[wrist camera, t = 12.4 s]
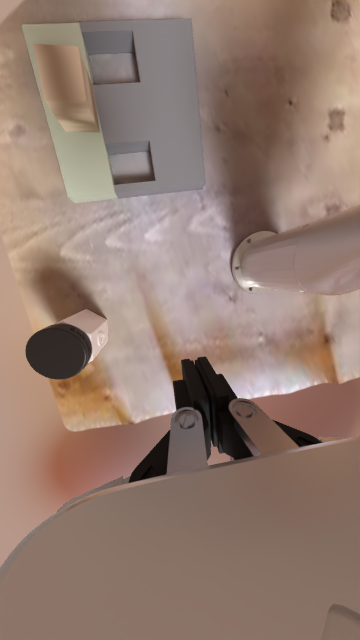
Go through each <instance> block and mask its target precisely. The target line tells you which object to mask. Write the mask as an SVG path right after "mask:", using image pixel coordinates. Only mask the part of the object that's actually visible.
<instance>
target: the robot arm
mask: <svg viewBox="0 0 360 640" xmlns="http://www.w3.org/2000/svg"><path fill="white" fill-rule="evenodd" d="M247 241H248V243H247ZM235 267H236V269H235ZM232 273H233V277H234V279H235V281H236V283H237V284H238V286H239V287H240V288H241V289H243V290H244V291H246V292H249V293H252V294H265V293H268V292H270V291H272V290H274V289H278V290H286V291H294V292H302V293H311V294H320V295H342V294H346V293H350V292H353V291H355V290H358V289H360V205H358V206H355V207H353V208H350V209H347V210H344V211H342V212H339V213H336V214H333V215H330V216H327V217H325V218H322V219H319V220H316V221H313V222H310V223H307V224H304V225H301V226H299V227H296V228H293V229H290V230H287V231H284V232H281V233H278V234H276V233H274V232H270V231H260V232H256V233H254V234H251V235H250V236H248V237H246V238H245V239H244V240H243V241H242V242H241V243H240V244H239V246H238V247H237V249H236V251H235V253H234V256H233V259H232ZM249 288H250V289H249ZM181 363H182V374H183V380H177V381H173V387H174V396H175V404H176V412H175V413H174V414H173V416H172V419H171V429H170V430H169V431H168V432H167V434H166V435H165V436H164V437H163V438H162V439H161V440H160V441H159V443H158V444H157V445H156V446H155V447H154V448H153V449H152V450H151V451H150V453H149V454H148V455H147V456H146V457H145V458H144V459H143V460H142V462H141V463H140V464H139V465H138V466H137V467H136V468H135V470H134V471H133V472H132V474H131V476H130V477H128V478H125V479H123V477H120V478H118V479H115V480H113V481H111V482H109V483H107V484H104V485H102V486H100V487H98V488H95V489H93V490H91V491H89V492H87V493H84V494H82V495H80V496H78V497H75V498H73V499H72V500H70V501H68V502H67V503H65V504H64V505H63V506H62V507H61V508H60V509H59V510H58V511H57V513H55V514H54V515H52V516H51V517H49V518H48V519H47V520H45V521H44V522H42V523H41V524H40V525H39V526H37V527H36V528H35V529H34V530H32V531H31V532H30V533H29V534H28V535H27V536H26V537H25V538H24V539H23V540H22V541H21V542H20V543H19V544H18V545H17V547H16V548H15V549H14V550H13V551H12V553H11V554H10V555H9V556H8V558H7V559H6V560H5V562H4V563H3V564H2V566H1V567H0V640H360V436H359V437H352V438H333V437H331V438H330V437H319V440H318V439H316V438H315V437H313V436H311V435H309V434H307V433H304V432H302V431H299V430H297V429H294V428H292V427H289V426H287V425H284V424H282V423H279V422H277V421H274V420H272V419H271V418H270V417H269V416H268V415H267V414H266V413H265V412H264V411H263V410H262V409H260V407H259V406H258V405H257V404H255V403H254V402H253V401H250V400H248V399H244V398H237V396H236V395H235V393H234V392H233V390H232V389H231V387H230V386H229V384H228V382H227V381H226V379H225V378H224V376H223V375H222V374H216V373H215V371H214V369H213V368H212V366H211V364H210V363H209V361H208V359H207V358H206V357H199V358H197V360H195V365H194V362H193V361H190V359H184V360H181ZM211 440H212V444H213V446H214V447H215V446H217V448H218V451H219V453H226V454H227V455H229V456H230V461H229V462H225V463H220V464H214V465H210V466H208V463H207V460H208V458H209V457H210V455H211V449H210V447H211Z"/></svg>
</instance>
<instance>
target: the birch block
mask: <svg viewBox="0 0 360 640" xmlns="http://www.w3.org/2000/svg"><path fill="white" fill-rule="evenodd" d="M33 46H34V51H35V56H36V61H37V66H38V71H39V76H40V82H41V87H42V92H43V97H44V100H45V102H46V103H47V105H48V106H49V108H50V109H51V111H52V112H53V114H54V115H55V117H56V118H57V120H58V121H59V123H60V124H61V126H62V127H63V129H64V130H65V132H100V129H99V122H98V115H97V108H96V100H95V93H94V88H93V85H92V83H91V80H90V77H89V74H88V72H87V69H86V66H85V64H84V61H83V58H82V55H81V53H80V50H79V47H78V46H64V45H47V44H33Z"/></svg>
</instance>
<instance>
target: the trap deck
mask: <svg viewBox="0 0 360 640" xmlns="http://www.w3.org/2000/svg"><path fill="white" fill-rule="evenodd" d="M21 27H22V30H23V34H24V38H25V41H26V45H27V49H28V52H29V56H30V60H31V63H32V67H33V70H34V74H35V78H36V81H37V85H38V89H39V92H40V96H41V100H42V103H43V107H44V111H45V114H46V118H47V122H48V125H49V129H50V133H51V136H52V140H53V144H54V147H55V151H56V154H57V158H58V162H59V165H60V169H61V173H62V176H63V180H64V184H65V187H66V191H67V195H68V198H70V199H71V200H72V201H73V202H74V203H81V202H90V201H100V200H109V199H118V198H127V197H136V196H145V195H154V194H163V193H172V192H181V191H190V190H199V189H202V188H203V186H204V184H205V171H204V159H203V148H202V136H201V125H200V113H199V102H198V90H197V79H196V68H195V56H194V45H193V33H192V22H191V18H190V19H156V20H121V21H87V22H79V23H54V24H21ZM33 44H47V45H64V46H78V47H79V50H80V53H81V55H82V58H83V61H84V64H85V66H86V69H87V72H88V74H89V77H90V80H91V83H92V85H93V88H94V93H95V100H96V108H97V115H98V122H99V129H100V132H65V130H64V129H63V127H62V126H61V124H60V123H59V121H58V120H57V118H56V117H55V115H54V114H53V112H52V111H51V109H50V108H49V106H48V105H47V103H46V102H45V100H44V97H43V92H42V87H41V82H40V76H39V71H38V66H37V61H36V56H35V51H34V46H33ZM132 52H135V56H136V62H137V69H138V75H139V82H136V83H118V84H101V85H94V80H93V75H92V70H91V65H90V60H89V56H88V54H109V53H132ZM145 151H150V153H151V160H152V166H153V173H154V179H155V181H148V182H138V183H128V184H119V185H115V181H114V176H113V171H112V167H111V162H110V157H109V155H112V154H123V153H134V152H145Z"/></svg>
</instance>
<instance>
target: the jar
mask: <svg viewBox="0 0 360 640" xmlns="http://www.w3.org/2000/svg"><path fill="white" fill-rule="evenodd" d="M107 341H108V327H107V319H105V318H103V317H101V316H99V315H97V314H95V313H93V312H92V311H90V310H88V309H84V310H82V311H80V312H78V313H76V314H74V315H72V316H70V317H67V318H65V319H63V320H61V321H59V322H58V323H56V324H54V325H51V326H48V327H46V328H44V329H42V330H40V331H38V332H36V333H35V334H34V335H32V337H31V338H30V339H29V340H28V342H27V345H26V357H27V360H28V362H29V364H30V365H31V367H32V368H33V369H34V370H35V371H36V372H38V373H39V374H41V375H43V376H45V377H48V378H51V379H67V378H70V377H73V376H75V375H77V374H78V373H79V372H80V371H81V370H82V369H84V367H85V366H86V365H87V363H89V362H90V361H92V360H93V359H94V358H95V357H96V355H97V354H98V353H99V351H100V350H101V349H102V347H103V346H104V345H105V344H106V342H107Z"/></svg>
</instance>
